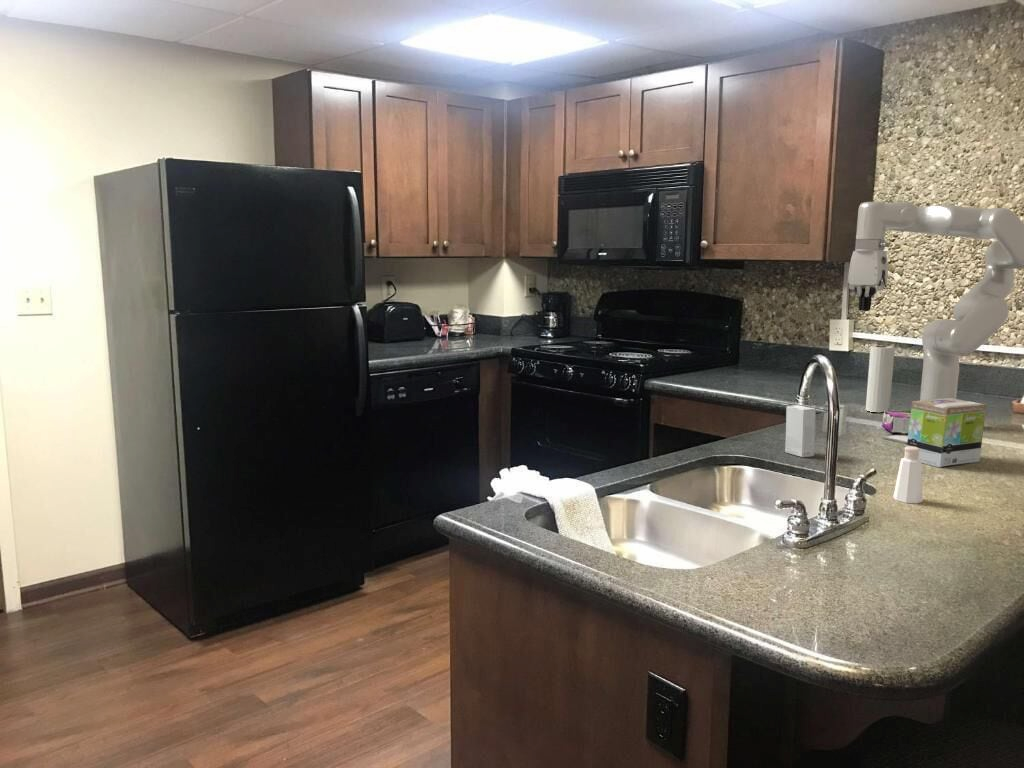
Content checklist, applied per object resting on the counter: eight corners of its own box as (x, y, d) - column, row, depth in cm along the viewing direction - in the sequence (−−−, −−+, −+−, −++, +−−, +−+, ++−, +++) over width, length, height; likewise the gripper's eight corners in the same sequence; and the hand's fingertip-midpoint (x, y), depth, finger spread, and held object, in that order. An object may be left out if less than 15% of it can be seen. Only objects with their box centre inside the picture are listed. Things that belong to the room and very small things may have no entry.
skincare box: (814, 456, 204) (818, 408, 202) (801, 458, 202) (804, 409, 200) (796, 450, 209) (799, 404, 208) (783, 452, 208) (786, 405, 206)
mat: (911, 434, 231) (912, 432, 231) (966, 445, 218) (966, 443, 218) (881, 438, 225) (882, 436, 225) (936, 450, 211) (936, 448, 211)
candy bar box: (883, 409, 238) (943, 415, 235) (881, 426, 239) (941, 432, 236) (893, 415, 227) (957, 420, 224) (891, 433, 228) (954, 438, 225)
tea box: (941, 468, 193) (947, 407, 191) (904, 459, 202) (909, 400, 200) (981, 462, 200) (987, 402, 198) (943, 453, 209) (949, 396, 207)
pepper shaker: (920, 505, 164) (925, 451, 162) (891, 500, 167) (895, 448, 165) (923, 498, 169) (928, 446, 167) (894, 494, 171) (899, 443, 170)
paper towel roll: (865, 412, 263) (870, 346, 259) (865, 409, 268) (870, 344, 265) (890, 414, 260) (895, 347, 257) (889, 411, 266) (894, 346, 262)
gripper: (901, 246, 230) (895, 312, 232) (854, 246, 242) (849, 308, 245) (885, 245, 226) (879, 312, 228) (838, 246, 238) (833, 309, 241)
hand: (864, 310), depth 237 cm, fingers closed
